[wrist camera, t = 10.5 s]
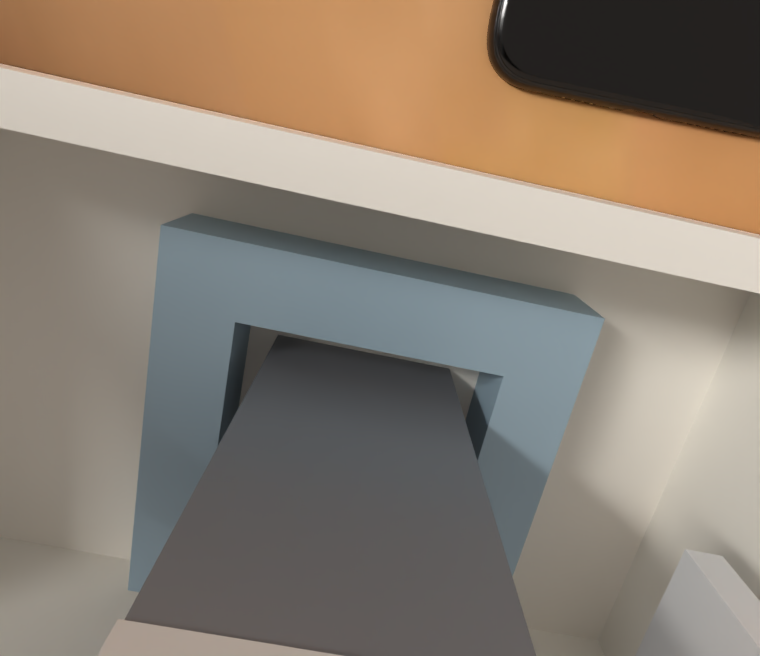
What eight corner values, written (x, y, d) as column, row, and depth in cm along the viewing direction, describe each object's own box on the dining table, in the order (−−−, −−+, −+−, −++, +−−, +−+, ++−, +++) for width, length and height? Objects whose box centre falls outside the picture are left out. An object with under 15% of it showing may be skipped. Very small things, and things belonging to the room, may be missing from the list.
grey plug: (252, 484, 16) (50, 1014, 6) (276, 332, 14) (64, 714, 5) (411, 513, 16) (457, 1063, 6) (452, 367, 14) (585, 794, 5)
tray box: (-77, 532, 17) (-285, 708, 12) (-103, 39, 13) (-448, -34, 7) (608, 649, 18) (699, 855, 13) (790, 241, 14) (1036, 300, 9)
